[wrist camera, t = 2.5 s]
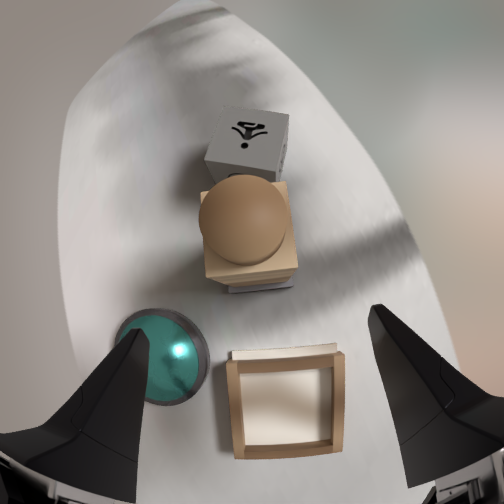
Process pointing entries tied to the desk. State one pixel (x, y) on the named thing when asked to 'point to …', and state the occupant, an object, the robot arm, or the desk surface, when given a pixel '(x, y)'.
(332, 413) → the frame
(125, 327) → the pad
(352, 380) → the desk surface
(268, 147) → the dice cube
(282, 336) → the desk surface
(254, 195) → the stamp
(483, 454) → the robot arm
